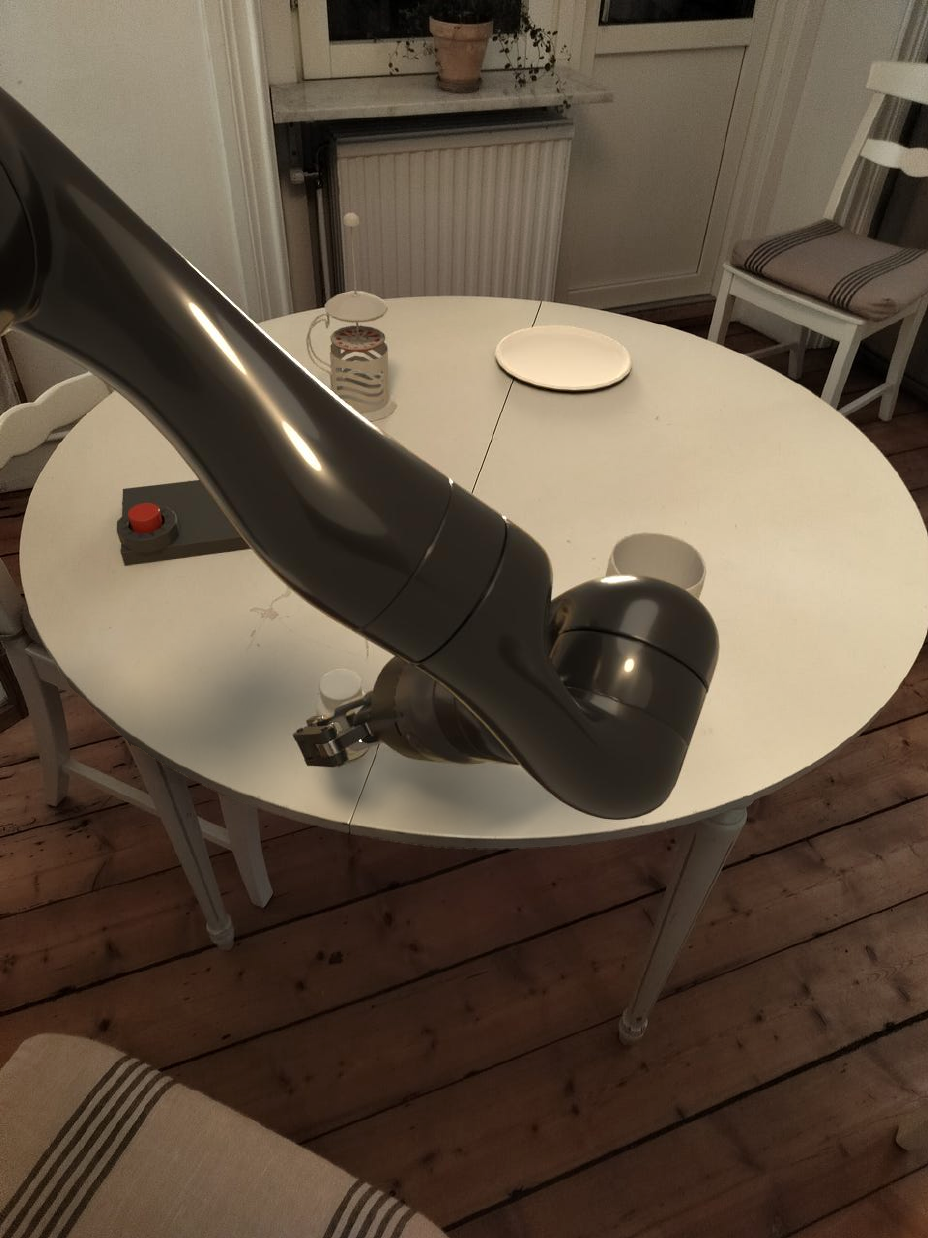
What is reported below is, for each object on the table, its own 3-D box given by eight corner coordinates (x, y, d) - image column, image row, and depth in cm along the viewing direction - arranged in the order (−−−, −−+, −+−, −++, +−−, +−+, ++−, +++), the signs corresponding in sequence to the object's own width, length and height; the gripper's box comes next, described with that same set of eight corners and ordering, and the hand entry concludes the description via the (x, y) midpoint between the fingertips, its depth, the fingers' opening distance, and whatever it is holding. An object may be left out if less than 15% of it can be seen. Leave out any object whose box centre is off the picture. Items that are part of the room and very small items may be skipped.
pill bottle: (379, 750, 72) (376, 692, 67) (332, 769, 71) (325, 711, 66) (358, 716, 75) (354, 657, 70) (313, 733, 74) (305, 674, 68)
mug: (696, 665, 81) (722, 588, 74) (608, 673, 80) (626, 596, 73) (654, 580, 90) (674, 505, 83) (575, 587, 89) (588, 511, 82)
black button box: (124, 569, 89) (115, 543, 86) (126, 501, 97) (118, 476, 95) (276, 548, 92) (272, 522, 90) (265, 484, 101) (261, 459, 98)
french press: (394, 423, 112) (389, 229, 95) (307, 419, 112) (287, 224, 95) (399, 387, 119) (395, 201, 102) (318, 384, 119) (301, 197, 102)
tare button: (131, 535, 88) (127, 522, 86) (131, 518, 90) (127, 504, 89) (163, 531, 88) (159, 518, 87) (162, 514, 91) (159, 501, 89)
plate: (506, 325, 135) (507, 317, 135) (634, 340, 133) (636, 333, 132) (483, 385, 121) (483, 377, 120) (627, 404, 118) (628, 396, 117)
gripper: (518, 601, 54) (416, 626, 68) (327, 697, 47) (259, 703, 62) (563, 705, 55) (453, 708, 69) (381, 814, 48) (302, 793, 62)
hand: (362, 706), depth 65 cm, fingers open, 8 cm apart
